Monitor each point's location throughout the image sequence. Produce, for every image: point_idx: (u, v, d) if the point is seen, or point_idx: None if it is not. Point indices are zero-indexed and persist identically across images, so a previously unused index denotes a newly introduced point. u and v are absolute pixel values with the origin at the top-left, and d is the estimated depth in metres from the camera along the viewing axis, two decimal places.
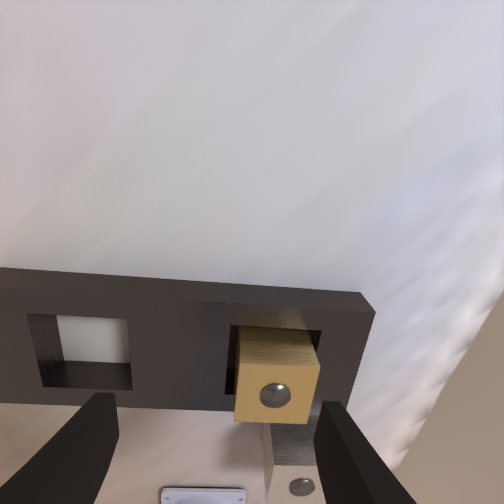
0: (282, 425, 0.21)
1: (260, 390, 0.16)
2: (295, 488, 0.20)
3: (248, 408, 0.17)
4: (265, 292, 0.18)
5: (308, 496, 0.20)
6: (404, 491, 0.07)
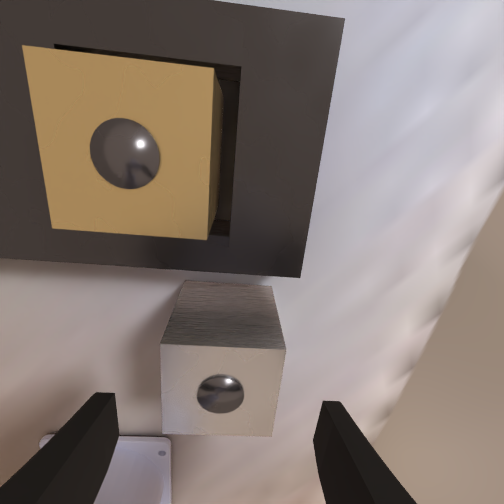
0: (198, 303, 0.13)
1: (89, 136, 0.07)
2: (208, 396, 0.11)
3: (75, 190, 0.08)
4: None
5: (236, 415, 0.11)
6: (404, 491, 0.07)
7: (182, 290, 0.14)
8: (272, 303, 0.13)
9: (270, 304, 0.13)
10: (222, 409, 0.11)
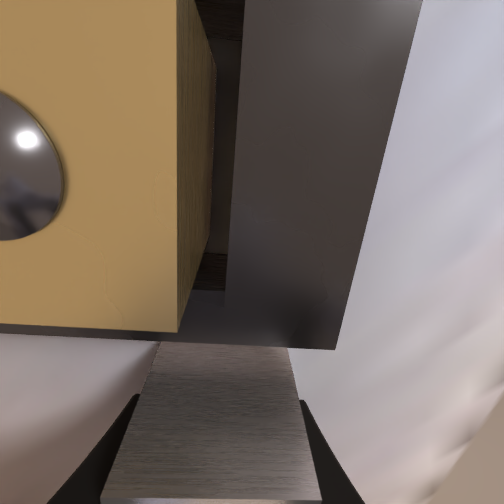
0: (178, 385, 0.08)
1: None
2: None
3: None
4: None
5: None
6: (353, 490, 0.07)
7: (156, 357, 0.09)
8: (289, 380, 0.09)
9: (287, 382, 0.09)
10: None
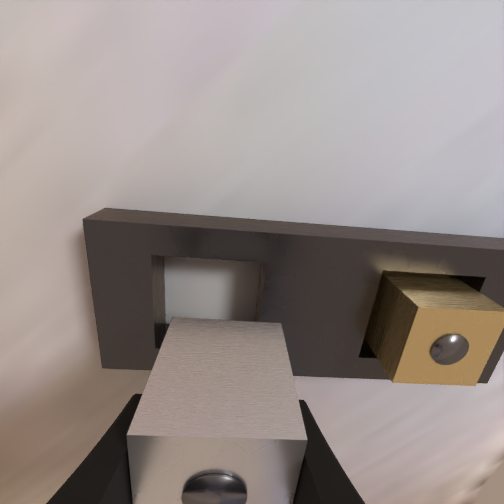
0: (187, 355, 0.10)
1: (433, 342, 0.14)
2: (197, 497, 0.08)
3: (414, 365, 0.14)
4: (414, 235, 0.16)
5: None
6: (353, 491, 0.07)
7: (167, 334, 0.10)
8: (283, 353, 0.10)
9: (281, 355, 0.10)
10: None
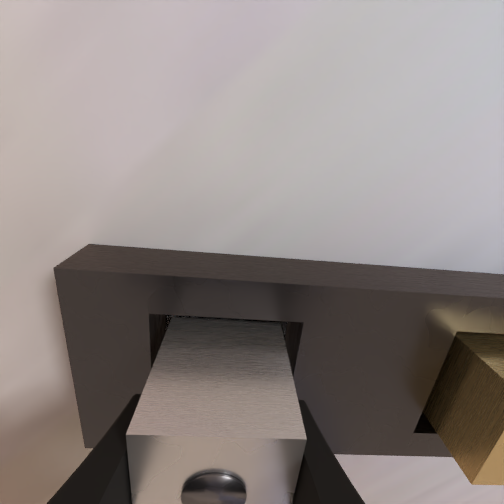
0: (186, 355, 0.10)
1: None
2: (196, 497, 0.08)
3: (503, 464, 0.10)
4: (491, 281, 0.12)
5: None
6: (353, 490, 0.07)
7: (166, 334, 0.10)
8: (283, 352, 0.10)
9: (280, 354, 0.10)
10: None
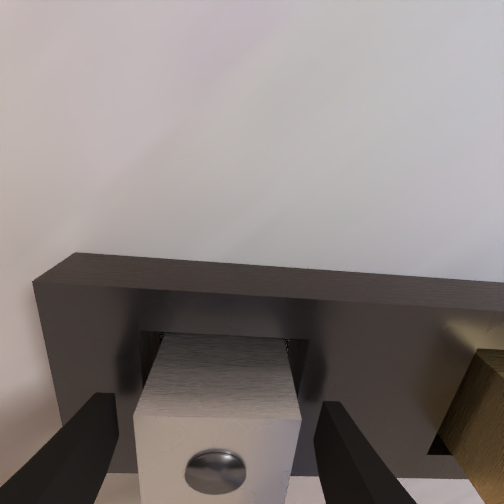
0: (188, 345, 0.10)
1: None
2: (199, 475, 0.08)
3: None
4: None
5: (236, 494, 0.09)
6: (404, 491, 0.07)
7: None
8: (280, 342, 0.11)
9: (278, 344, 0.11)
10: (218, 489, 0.09)
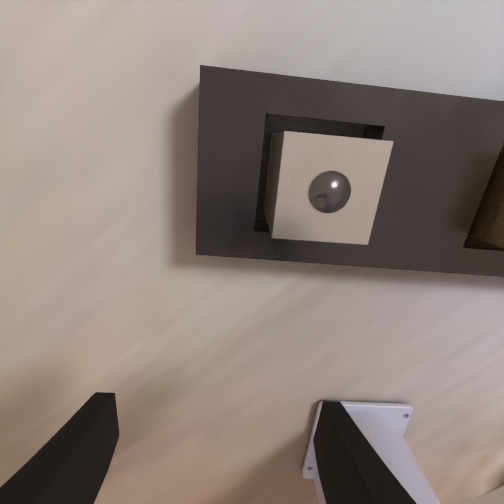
0: None
1: None
2: (319, 192, 0.12)
3: None
4: None
5: (340, 218, 0.13)
6: (404, 491, 0.07)
7: (275, 133, 0.15)
8: None
9: None
10: (329, 209, 0.12)
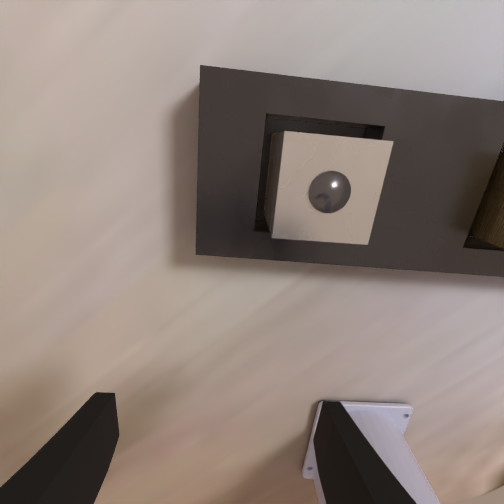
0: None
1: None
2: (319, 192, 0.12)
3: None
4: None
5: (340, 218, 0.13)
6: (404, 491, 0.07)
7: (275, 133, 0.15)
8: None
9: None
10: (329, 209, 0.12)
